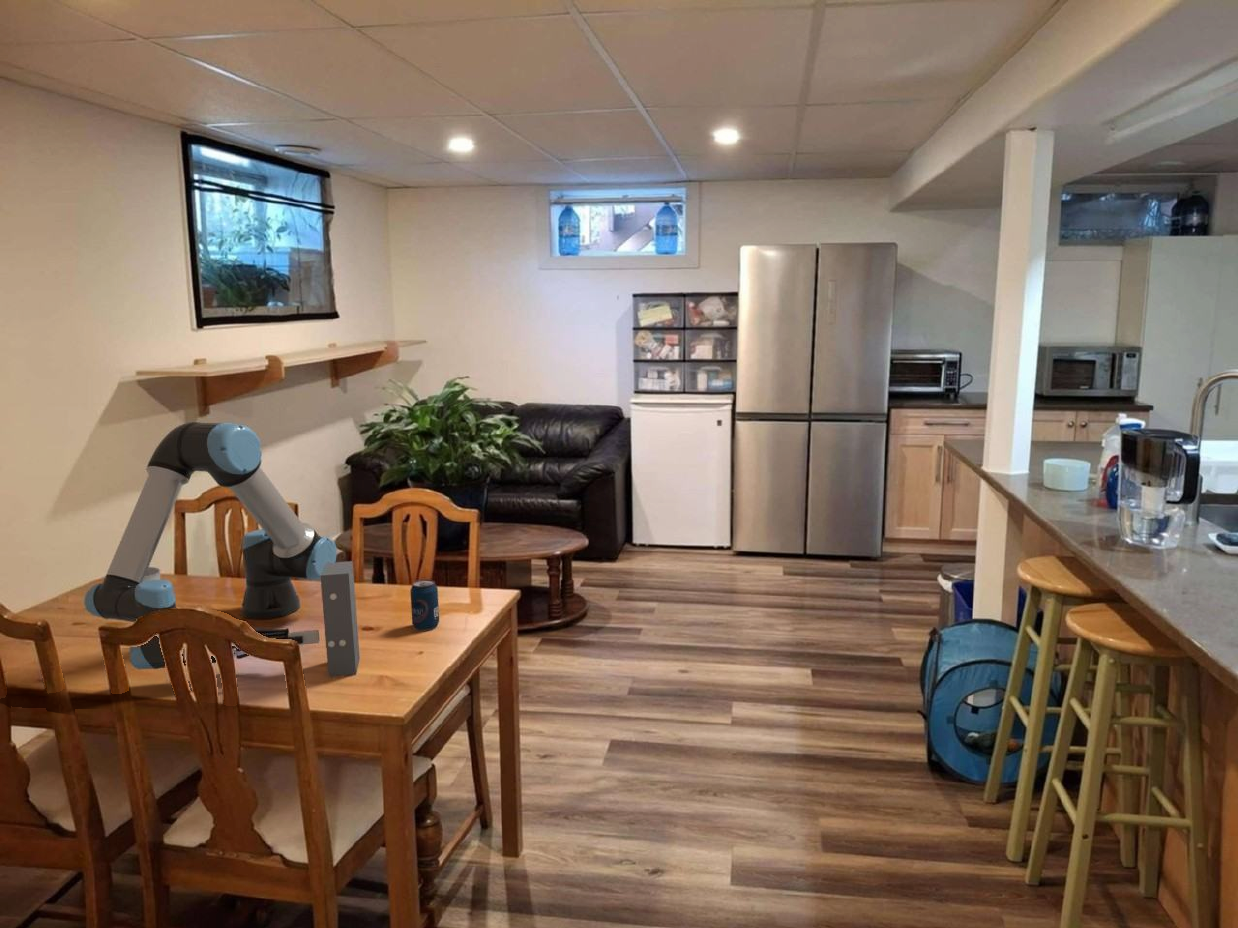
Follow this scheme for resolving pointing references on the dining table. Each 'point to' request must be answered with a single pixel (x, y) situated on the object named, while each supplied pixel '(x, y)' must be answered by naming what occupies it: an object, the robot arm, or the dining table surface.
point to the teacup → (152, 574)
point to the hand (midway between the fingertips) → (318, 636)
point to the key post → (340, 618)
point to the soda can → (424, 605)
